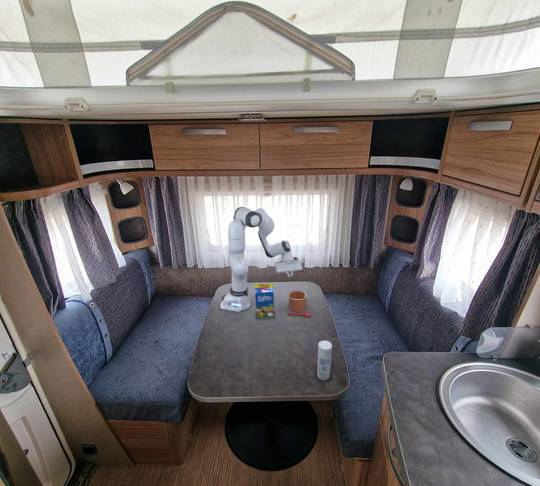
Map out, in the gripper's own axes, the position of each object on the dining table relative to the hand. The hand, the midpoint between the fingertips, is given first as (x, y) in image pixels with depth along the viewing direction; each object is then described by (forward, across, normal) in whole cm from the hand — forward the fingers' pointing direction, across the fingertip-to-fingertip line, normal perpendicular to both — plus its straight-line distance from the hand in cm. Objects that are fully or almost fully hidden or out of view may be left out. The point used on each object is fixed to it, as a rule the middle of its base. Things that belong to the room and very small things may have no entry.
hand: (290, 277), depth 213 cm
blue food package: (+27, -24, -4) cm, 36 cm away
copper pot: (+23, 0, -1) cm, 23 cm away
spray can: (+62, -5, -54) cm, 82 cm away
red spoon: (+30, -1, -8) cm, 31 cm away
